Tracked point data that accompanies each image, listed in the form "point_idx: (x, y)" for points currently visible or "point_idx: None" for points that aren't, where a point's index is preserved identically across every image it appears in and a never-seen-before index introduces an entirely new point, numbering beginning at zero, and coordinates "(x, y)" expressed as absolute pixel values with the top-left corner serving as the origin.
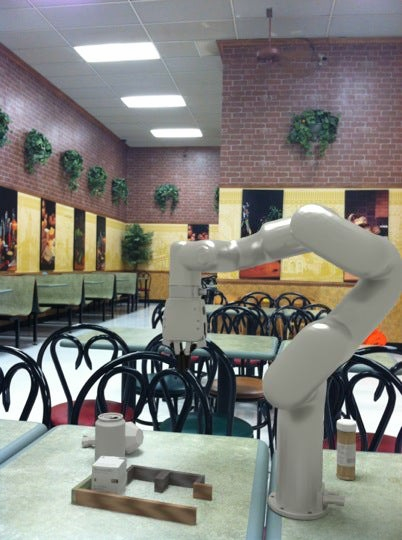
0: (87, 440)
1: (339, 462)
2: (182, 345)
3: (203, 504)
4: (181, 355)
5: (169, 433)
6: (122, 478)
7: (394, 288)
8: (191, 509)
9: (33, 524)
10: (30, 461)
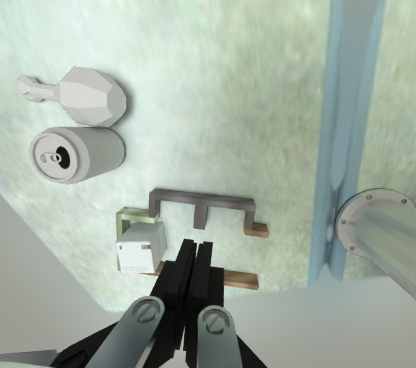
0: (34, 97)
1: None
2: (144, 359)
3: (257, 238)
4: (177, 349)
5: None
6: (159, 247)
7: None
8: (254, 289)
9: (116, 296)
10: (12, 169)
